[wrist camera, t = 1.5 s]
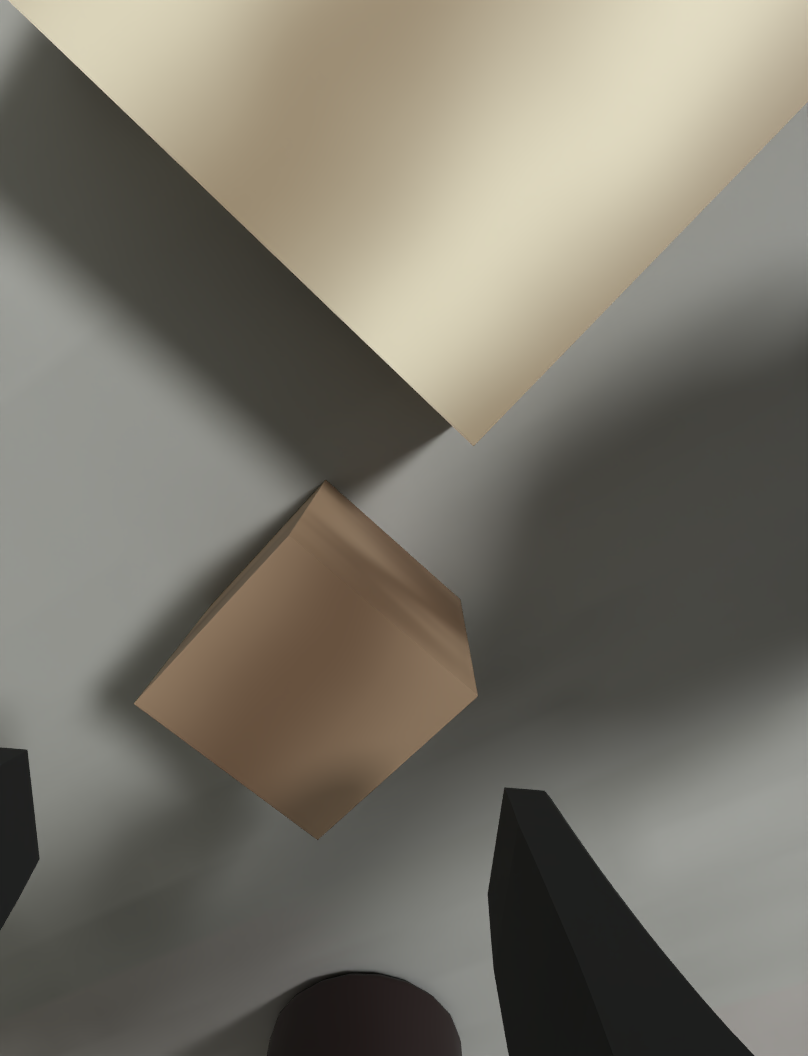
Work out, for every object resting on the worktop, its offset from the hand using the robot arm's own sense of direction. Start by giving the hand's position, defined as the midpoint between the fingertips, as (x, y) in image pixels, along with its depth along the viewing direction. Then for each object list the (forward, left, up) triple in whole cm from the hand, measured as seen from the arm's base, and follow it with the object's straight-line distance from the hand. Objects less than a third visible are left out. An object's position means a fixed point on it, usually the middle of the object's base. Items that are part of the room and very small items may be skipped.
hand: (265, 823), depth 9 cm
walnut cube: (0, 0, -8) cm, 8 cm away
